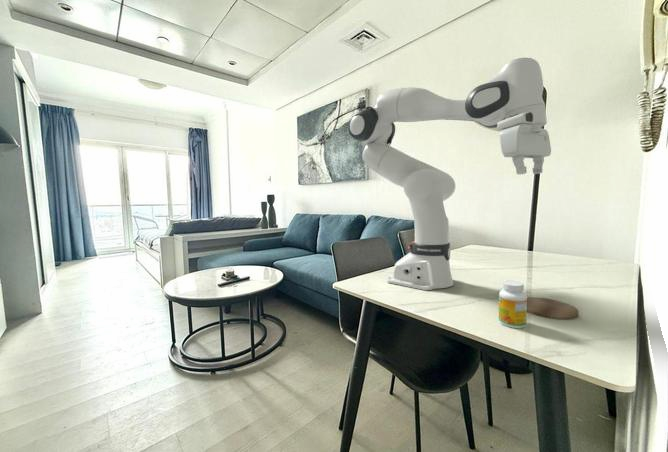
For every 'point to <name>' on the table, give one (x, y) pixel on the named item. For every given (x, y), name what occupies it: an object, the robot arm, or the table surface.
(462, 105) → the robot arm
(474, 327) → the table surface
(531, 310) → the walnut coaster
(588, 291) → the table surface
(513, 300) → the supplement bottle
